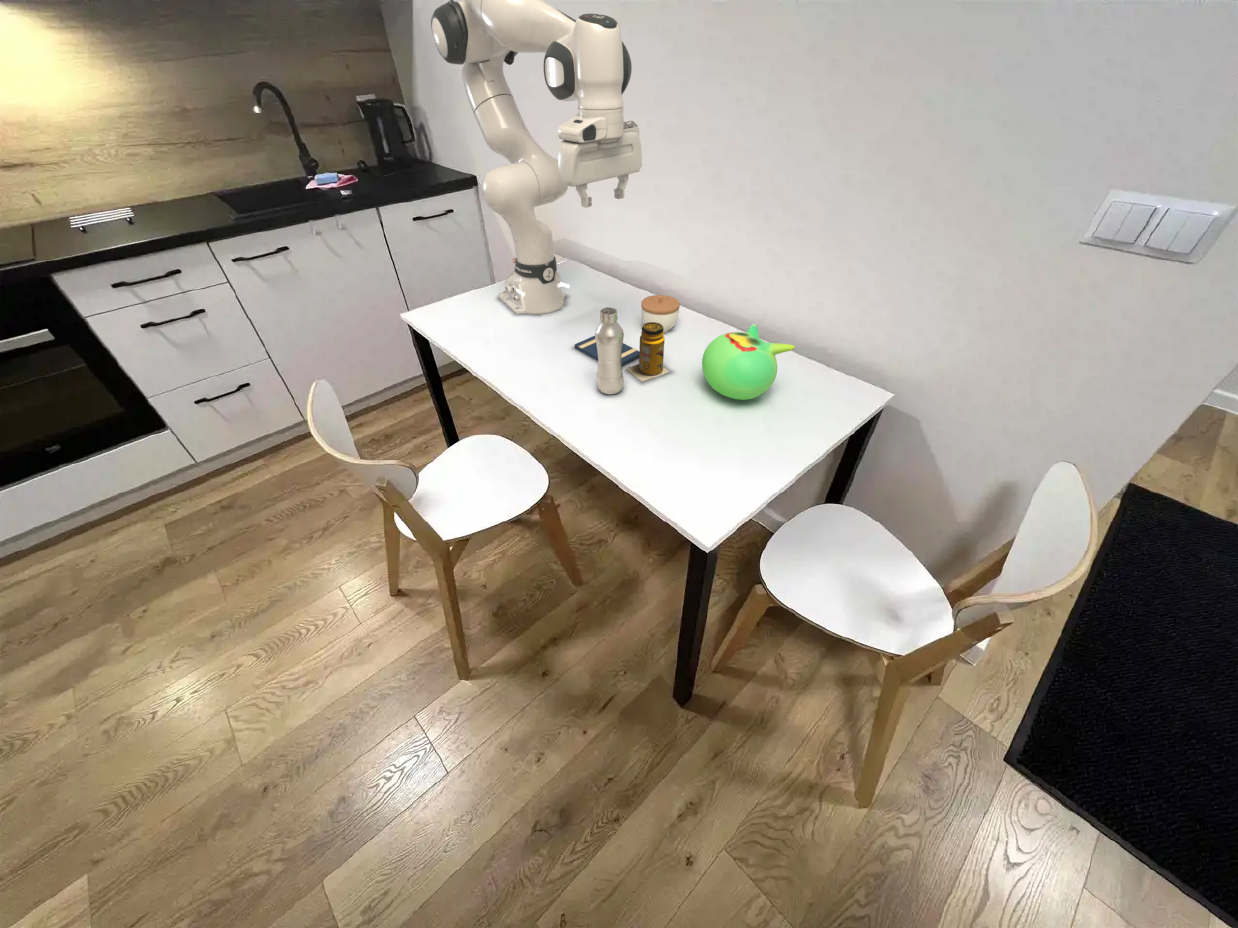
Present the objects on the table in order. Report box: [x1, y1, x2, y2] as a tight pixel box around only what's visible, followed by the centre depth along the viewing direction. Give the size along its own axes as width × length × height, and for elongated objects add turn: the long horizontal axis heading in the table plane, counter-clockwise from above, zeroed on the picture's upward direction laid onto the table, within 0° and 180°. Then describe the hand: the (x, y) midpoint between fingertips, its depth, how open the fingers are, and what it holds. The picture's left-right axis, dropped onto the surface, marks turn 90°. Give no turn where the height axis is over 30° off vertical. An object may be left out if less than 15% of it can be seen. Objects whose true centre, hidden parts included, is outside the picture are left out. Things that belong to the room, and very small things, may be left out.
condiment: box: [625, 322, 670, 382], centre depth 121 cm, size 7×8×12 cm
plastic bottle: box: [594, 307, 625, 395], centre depth 112 cm, size 6×7×20 cm
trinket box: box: [640, 294, 681, 334], centre depth 139 cm, size 11×11×9 cm
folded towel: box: [574, 335, 640, 368], centre depth 132 cm, size 16×10×1 cm, turn 43°
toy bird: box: [701, 323, 796, 401], centre depth 113 cm, size 18×17×15 cm
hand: (603, 202), depth 106 cm, fingers open, 8 cm apart
